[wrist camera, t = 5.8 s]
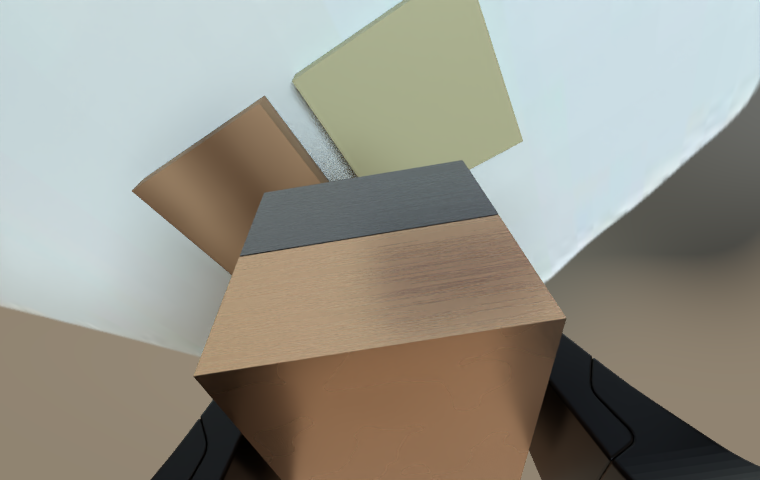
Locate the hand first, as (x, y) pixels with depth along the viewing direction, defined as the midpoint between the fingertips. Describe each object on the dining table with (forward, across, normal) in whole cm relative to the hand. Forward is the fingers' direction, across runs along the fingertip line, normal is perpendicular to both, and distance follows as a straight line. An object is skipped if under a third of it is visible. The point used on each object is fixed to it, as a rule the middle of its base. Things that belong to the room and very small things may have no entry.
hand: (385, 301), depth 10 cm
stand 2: (+13, -3, -2) cm, 13 cm away
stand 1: (+13, +7, +2) cm, 15 cm away
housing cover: (-2, 0, 0) cm, 2 cm away
